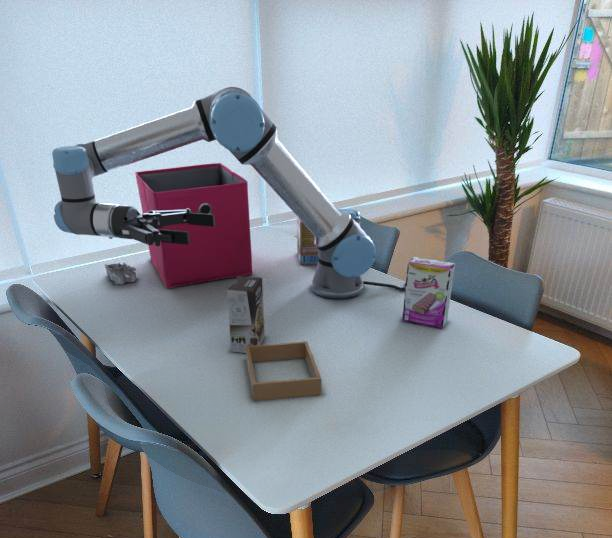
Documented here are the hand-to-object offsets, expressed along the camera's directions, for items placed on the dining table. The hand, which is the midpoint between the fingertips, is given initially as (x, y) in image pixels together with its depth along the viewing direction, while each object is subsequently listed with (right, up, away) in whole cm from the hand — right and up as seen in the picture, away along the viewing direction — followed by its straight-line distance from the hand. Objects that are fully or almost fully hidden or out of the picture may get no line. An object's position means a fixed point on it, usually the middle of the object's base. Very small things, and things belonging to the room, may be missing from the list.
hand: (201, 229), depth 136 cm
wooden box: (+18, -34, -1) cm, 38 cm away
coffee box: (+9, -25, +13) cm, 30 cm away
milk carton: (+26, +8, +65) cm, 70 cm away
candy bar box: (+55, -18, +24) cm, 62 cm away
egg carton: (-33, -1, +50) cm, 61 cm away
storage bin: (-11, +4, +58) cm, 59 cm away
